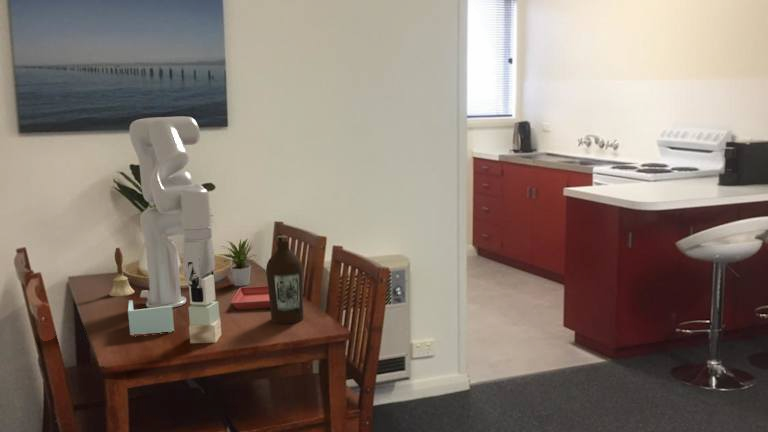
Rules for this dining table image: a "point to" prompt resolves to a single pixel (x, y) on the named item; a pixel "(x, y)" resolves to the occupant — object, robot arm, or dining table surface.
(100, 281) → the dining table surface
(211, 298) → the cream block
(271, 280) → the olive oil
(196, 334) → the oak base block
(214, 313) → the sage block
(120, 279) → the hand bell
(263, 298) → the plant saucer
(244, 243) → the house plant
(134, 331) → the l-shaped corner panel
